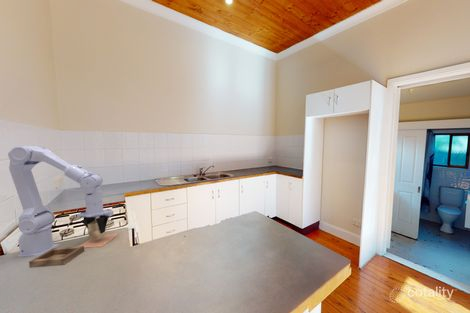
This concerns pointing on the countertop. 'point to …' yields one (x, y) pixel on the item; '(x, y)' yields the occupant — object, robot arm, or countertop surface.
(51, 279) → the countertop surface
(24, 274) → the countertop surface
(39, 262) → the walnut pocket
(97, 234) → the maple block
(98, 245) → the terracotta tile
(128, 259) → the countertop surface
